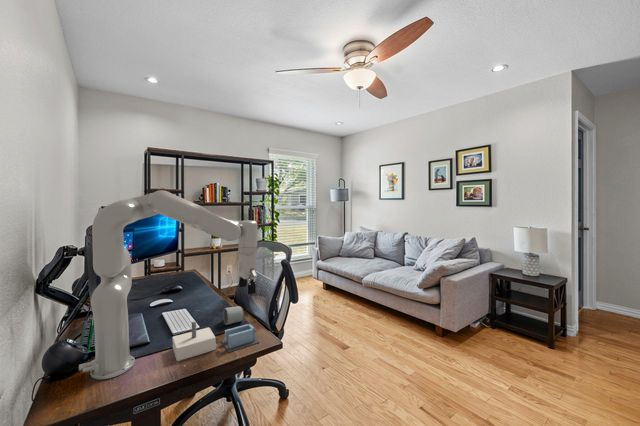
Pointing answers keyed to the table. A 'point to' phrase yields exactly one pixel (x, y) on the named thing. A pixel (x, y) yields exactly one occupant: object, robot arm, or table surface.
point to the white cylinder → (233, 315)
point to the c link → (239, 335)
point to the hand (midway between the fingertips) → (247, 290)
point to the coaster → (239, 345)
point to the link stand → (193, 343)
